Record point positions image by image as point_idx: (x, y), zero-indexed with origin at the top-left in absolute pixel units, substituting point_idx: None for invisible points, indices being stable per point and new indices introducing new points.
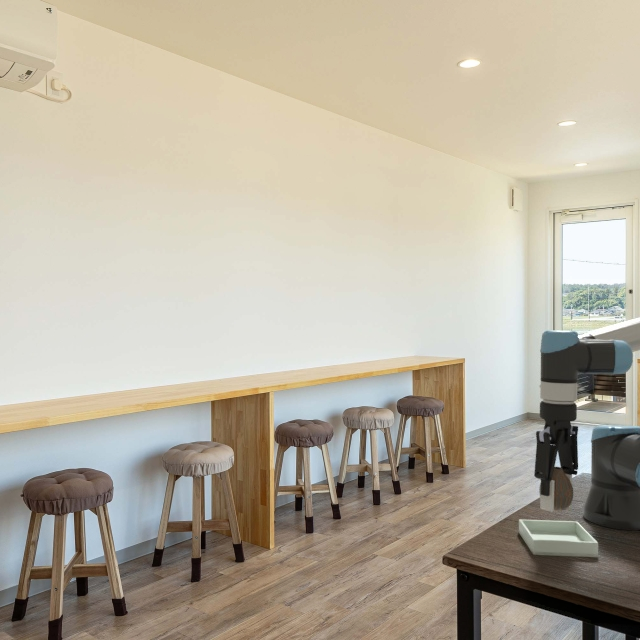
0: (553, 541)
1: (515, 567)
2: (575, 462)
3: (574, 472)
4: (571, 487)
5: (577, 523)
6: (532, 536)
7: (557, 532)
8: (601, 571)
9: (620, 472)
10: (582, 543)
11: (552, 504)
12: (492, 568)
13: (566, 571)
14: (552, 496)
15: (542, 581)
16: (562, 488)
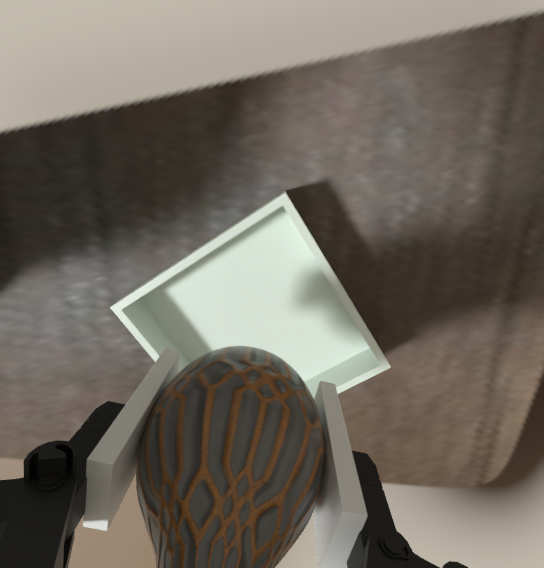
0: (360, 318)
1: (494, 354)
2: None
3: (58, 466)
4: (232, 396)
5: (131, 302)
6: (358, 379)
7: (176, 339)
8: (397, 152)
9: None
10: (313, 239)
11: (337, 404)
12: (529, 394)
13: (453, 239)
14: (347, 434)
15: None
16: (303, 430)
